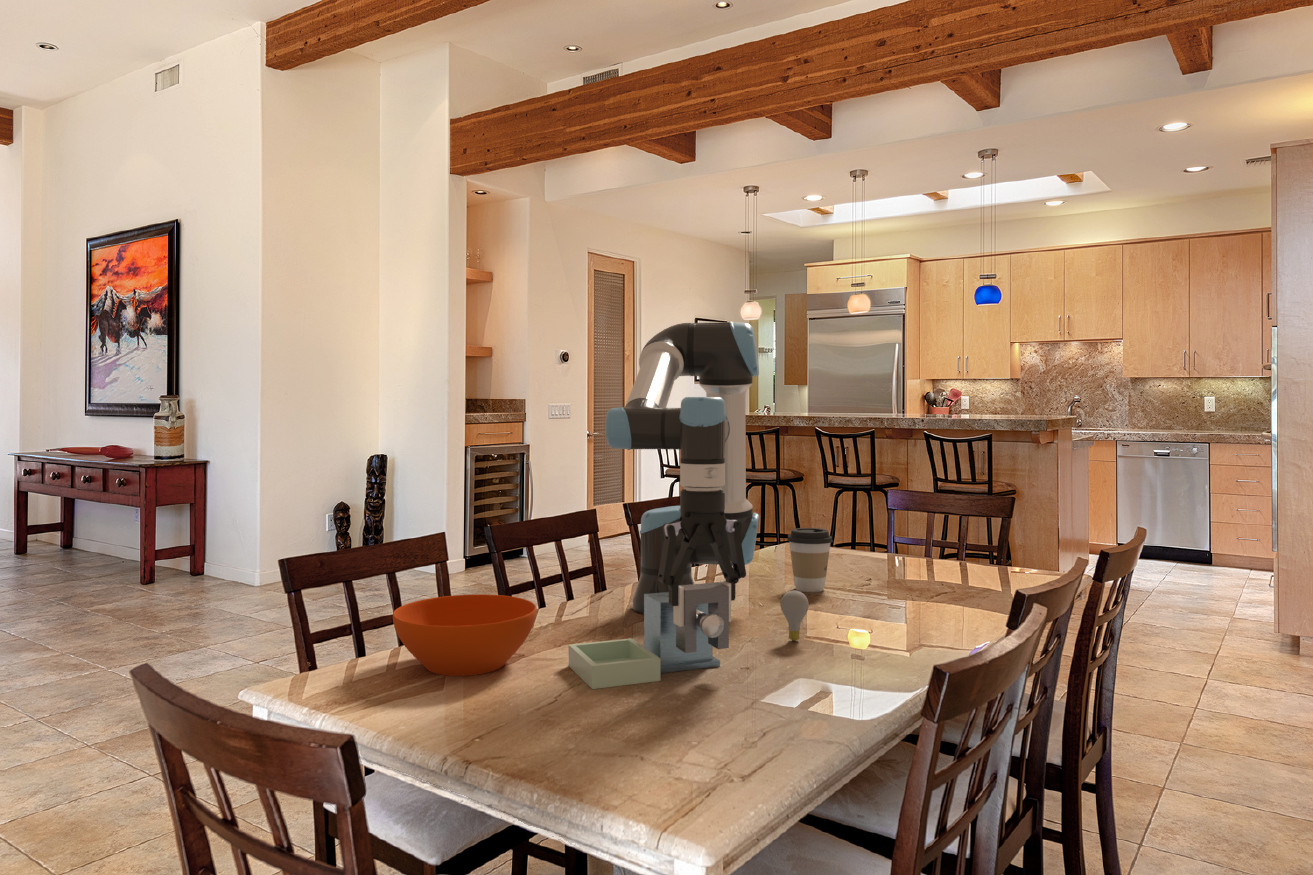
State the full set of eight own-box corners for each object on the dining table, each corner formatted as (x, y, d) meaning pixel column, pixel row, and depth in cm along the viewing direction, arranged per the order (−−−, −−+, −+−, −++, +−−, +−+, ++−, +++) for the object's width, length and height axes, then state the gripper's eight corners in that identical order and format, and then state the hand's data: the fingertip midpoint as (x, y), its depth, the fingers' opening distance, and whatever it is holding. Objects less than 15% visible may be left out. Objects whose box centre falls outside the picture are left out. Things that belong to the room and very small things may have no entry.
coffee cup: (836, 594, 219) (836, 533, 219) (790, 594, 219) (790, 533, 219) (828, 584, 231) (828, 527, 230) (784, 584, 231) (784, 527, 230)
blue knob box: (637, 658, 163) (637, 593, 163) (696, 651, 168) (697, 588, 167) (679, 690, 145) (680, 617, 144) (745, 682, 149) (746, 611, 149)
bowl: (410, 694, 143) (409, 633, 142) (380, 655, 165) (380, 602, 165) (557, 673, 154) (557, 616, 154) (511, 639, 176) (511, 589, 176)
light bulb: (807, 645, 172) (808, 594, 172) (779, 643, 173) (779, 592, 173) (808, 638, 177) (809, 588, 177) (781, 636, 179) (781, 587, 178)
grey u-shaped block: (676, 646, 151) (676, 585, 151) (718, 642, 154) (718, 581, 154) (685, 653, 148) (685, 590, 147) (728, 648, 151) (728, 586, 150)
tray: (568, 665, 158) (568, 644, 158) (631, 658, 163) (631, 638, 163) (592, 689, 145) (592, 665, 145) (660, 680, 150) (660, 658, 150)
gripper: (652, 493, 143) (653, 633, 144) (768, 488, 150) (767, 621, 151) (636, 488, 150) (636, 622, 151) (747, 484, 157) (747, 611, 158)
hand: (702, 621), depth 151 cm, fingers closed on grey u-shaped block, 8 cm apart
